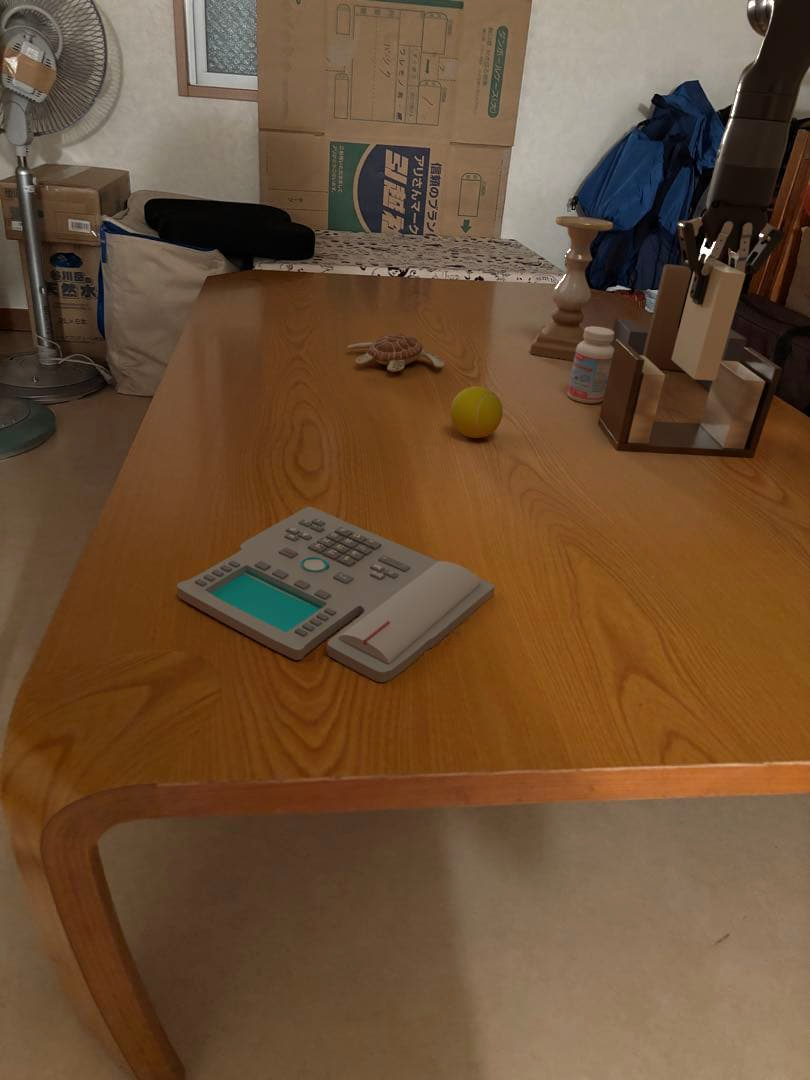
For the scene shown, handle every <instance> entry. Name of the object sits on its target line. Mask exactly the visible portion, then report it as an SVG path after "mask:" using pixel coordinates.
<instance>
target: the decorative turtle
mask: <svg viewBox="0 0 810 1080" xmlns="http://www.w3.org/2000/svg"><path fill="white" fill-rule="evenodd" d="M423 347H424V346H423V344H422V343H421V342H419V339H418V338H416V336H415V337H414V336H410V335H408V334H404V333H401V332H396V333H395V332H394V333H389V334H384V335H382V336H380V337H379V338H378V339H376V340H374V341H365V342H359V343H354V344H349V345H348V346H346V348H347V349H348V350H351V351H352V350H361V349H367V350H366V353H364V354H362V355H359V356H358V357H357V358H356V359H355V364H357V365H359V366H360V365H363V364H367V363H368V362H370V361H375V362H377V363H379V364H381V365H385V366H387V368H386V369H387V371H388V372H391V373H394V372H400V371H402V370H404V368H405V367H406V365H408V364H411V363H412V362H415V361H417V360H418V359H419V358H421V357H423V358H425V359H427V360H428V361H430V363H432V364H433V366H434V368H435V369H440V368H443V367H444V366H445V361H444V360H443V359H442V357H441V356H439V355H437V354H434V353H433V352H431V351H428V350H426V349H424V348H423Z"/></svg>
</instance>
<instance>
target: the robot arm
mask: <svg viewBox="0 0 810 1080" xmlns="http://www.w3.org/2000/svg"><path fill="white" fill-rule="evenodd" d="M746 18H747V21H748V24H749V26H750V27H751V29H752V30H753V31H754V32H755V33H756V34H757V35H759V36H760V37H763V40H762V43H761V46H760V48H759V51H758V54H757V56H756V57H755V59H754V60H753V61H752V62H750V63H749V64H747V65H746V66H745V67H744V68H743V70H742V72H741V73H740V76H739V78H738V81H737V85H736V89H735V93H734V96H733V100H732V104H731V108H730V112H729V118H728V120H727V123H726V126H725V129H724V131H723V134H722V137H721V140H720V143H719V147H718V150H717V152H716V159H715V162H714V163H715V165H714V168H713V172H712V177H711V180H710V183H709V184H710V185H709V187H708V192H707V195H706V203H705V205H704V207H703V208H702V210H701V211H700V213H699V215H698V216H697V217H694V218H691V219H689V220H685V219H680V220H679V221H678V223H677V225H676V228H677V234H678V240H679V246H680V253H681V259H682V264H683V266H686V267H688V268H690V270H691V271H692V272H694V273H695V275H694V279H693V283H692V287H691V291H690V297H691V298H692V301H693V303H695V304H697V305H702V304H703V301H704V298H705V294H706V290H707V286H708V282H709V279H710V277H709V276H708V275H709V274H710V272H711V270H712V267H713V265H714V263H715V260H718V259H719V258H720V255H721V253H722V251H723V250H726V249H728V250H727V251H728V252H727V255H728V264H727V265H728V266H731V267H733V268H735V269H737V270H739V271H741V272H743V273H745V274H746V275H745V276H747V275H756V274H757V273H758V272H759V271H760V269H761V268H762V267H763V265H764V264H765V263H766V261H767V260H768V258H769V257H770V256H771V254H772V253H773V251H774V250H775V249H776V247H777V246H778V244H779V243H780V242H781V240H783V237H784V235H785V233H784V231H783V230H782V229H780V228H777V227H774V226H773V225H772V224H770V223H769V222H768V221H769V220H768V214H767V213H768V212H767V211H768V209H769V206H770V204H771V201H772V198H773V194H774V191H775V187H776V183H777V180H778V177H779V173H780V169H781V166H782V162H783V159H784V156H785V153H786V149H787V145H788V141H789V132H790V127H791V122H792V121H793V117H794V113H795V109H796V105H797V103H798V98H799V94H800V90H801V86H802V83H803V81H804V78H805V76H806V74H807V72H808V71H809V70H810V0H747V3H746ZM700 228H701V230H702V233H703V234H704V237H705V238H704V240H703V242H702V245H701V248H700V250H699V251H700V252H699V253H700V254H698V249H697V242H696V237H697V236H698V235H699V230H700ZM757 236H758V242H757V243H756V245H755V246H754V247H753V249H752V250H751V251H750V244H751V242H752V241H753V240H754V239H755V238H756V237H757ZM698 255H699V256H698Z"/></svg>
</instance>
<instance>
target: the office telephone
mask: <svg viewBox="0 0 810 1080" xmlns="http://www.w3.org/2000/svg"><path fill="white" fill-rule="evenodd" d="M176 585H177V586H176V588H177V597H178V598H179V599H180V600H182V601H184V602H186V603H187V604H189V605H191V606H192V607H195V608H196V609H198V610H200V611H201V612H203V613H205V614H208V615H209V616H210V617H212V618H214V619H215V620H218V621H219V622H221V623H223V624H225V625H227V626H229V627H230V628H233V629H234V630H235V631H238V632H240V633H241V634H244V635H246V636H247V637H249V638H251V639H253V640H255V641H257V642H258V643H260V644H262V645H264V646H266V647H267V648H269V649H271V650H273V651H275V652H277V653H279V654H282V655H284V656H286V657H288V658H289V659H291V660H295V661H300V660H303V659H304V658H305V656H306V655H308V653H309V652H311V651H312V650H314V649H315V648H316V647H318V646H319V645H320V644H321V643H322V642H324V641H325V640H326V639H328V638H329V637H331V636H332V635H333V634H335V633H336V632H337V631H339V630H340V629H341V628H342V627H344V626H345V625H347V624H348V623H349V624H348V625H347V626H345V627H344V628H342V629H341V630H340V631H339V632H338V633H336V634H335V635H334V636H332V637H331V638H330V639H329V640H328V641H327V645H326V654H327V656H328V657H329V658H332V659H333V660H335V661H337V662H338V663H340V664H341V665H344V666H346V667H347V668H349V669H352V670H353V671H354V672H355V671H356V672H357V673H359V674H361V675H363V676H365V677H367V678H368V679H370V680H373V681H375V682H376V683H377V682H378V683H386V682H389V681H391V680H393V679H394V678H395V677H396V676H398V675H399V674H401V673H402V672H404V671H405V670H406V669H407V668H408V667H409V666H411V665H412V664H413V663H415V662H416V661H417V660H418V659H419V658H420V657H422V655H423V654H424V653H426V651H428V650H429V649H430V650H431V649H432V648H434V647H435V646H436V645H437V644H438V643H439V642H441V641H442V640H443V639H445V637H446V636H447V635H449V634H450V633H451V632H453V631H454V630H455V629H456V628H457V627H458V626H459V625H460V624H462V623H463V622H464V621H465V620H466V619H467V618H469V617H470V616H471V615H472V614H473V613H474V612H475V611H477V610H479V608H480V607H481V606H482V605H484V604H485V603H486V602H488V600H490V599H491V598H493V597H494V595H495V589H496V585H495V584H494V583H492V582H490V581H488V580H485V579H483V578H480V577H478V576H477V575H476V574H475V572H472V571H471V570H469V569H467V568H466V567H465V566H463V565H460V564H457V563H454V562H451V561H447V560H446V561H445V560H437V559H435V558H433V557H430V556H428V555H425V554H423V553H421V552H418V551H417V550H414V549H411V548H409V547H406V546H404V545H401V544H399V543H397V542H395V541H392V540H390V539H387V538H386V537H382V536H380V535H378V534H375V533H373V532H371V531H369V530H366V529H363V528H361V527H359V526H356V525H354V524H351V523H350V522H347V521H344V520H342V519H340V518H338V517H337V516H335V515H332V514H329V513H327V512H326V511H323V510H321V509H318V508H316V507H313V506H311V505H310V506H306V507H304V508H302V509H300V510H299V511H297V512H295V513H293V514H291V515H289V516H288V517H286V518H284V519H282V520H281V521H279V522H277V523H274V524H273V525H271V526H270V527H268V528H266V529H265V530H262V531H261V532H259V533H257V534H255V535H254V536H252V537H249V538H248V539H247V540H245V541H244V542H242V543H241V544H240V546H239V550H238V551H237V552H236V553H234V554H233V555H230V556H229V557H227V558H225V559H224V560H221V561H220V562H219V563H216V564H215V565H213V566H211V567H209V568H208V569H206V570H205V571H202V572H200V573H199V574H197V575H194V576H193V577H191V578H188V579H187V580H183V581H179V582H178V583H177V584H176ZM350 621H352V622H350Z"/></svg>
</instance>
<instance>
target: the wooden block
mask: <svg viewBox="0 0 810 1080" xmlns="http://www.w3.org/2000/svg"><path fill="white" fill-rule="evenodd" d="M691 275H692V269H690V268H688V267H686V266H685V265H678V264H671V263H670V264H669V263H665V264H664V265H663V268H662V273H661V277H660V281H659V285H658V290H657V293H656V294H657V295H656V298H655V303H654V306H653V311H652V316H651V319H650V324H649V328H648V331H647V332H648V335H647V339H646V344H645V348H644V352H643V356H645V357H646V358H648V359H649V360H650V361H651V362H652V363H653V364H654V365H655V366H656V367H657V368H658V369H659V370H666V371H674V372H681V373H686V372H685V371H684V370H683V369H682V368H680V367H679V366H678V365H677V364H676V363H675V362H674V361H672V360H671V359H672V355H673V351H674V347H675V343H676V339H677V335H678V331H679V325H680V324H679V323H680V321H681V317H682V313H683V309H684V305H685V301H686V300H685V299H686V297H687V293H688V289H689V285H690V284H689V283H690V281H691V280H690V278H691V277H692V276H691Z"/></svg>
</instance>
